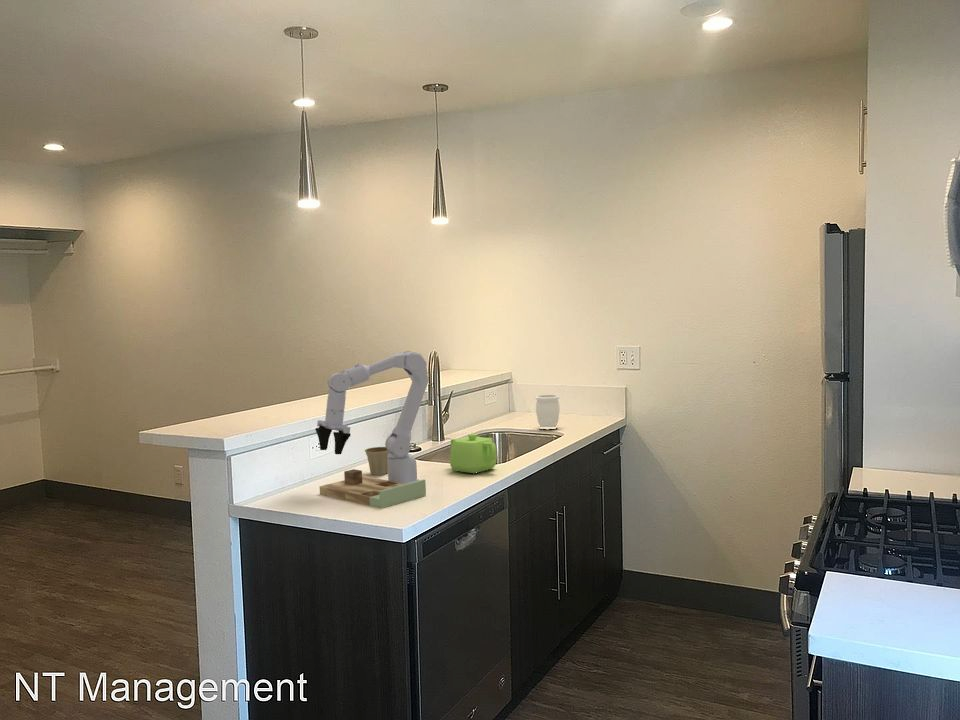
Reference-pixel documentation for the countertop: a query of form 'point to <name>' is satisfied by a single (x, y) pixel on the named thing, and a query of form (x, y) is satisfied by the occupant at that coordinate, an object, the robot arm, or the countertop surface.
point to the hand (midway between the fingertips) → (330, 452)
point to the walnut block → (353, 477)
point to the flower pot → (377, 460)
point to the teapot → (472, 454)
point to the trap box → (375, 491)
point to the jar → (547, 410)
